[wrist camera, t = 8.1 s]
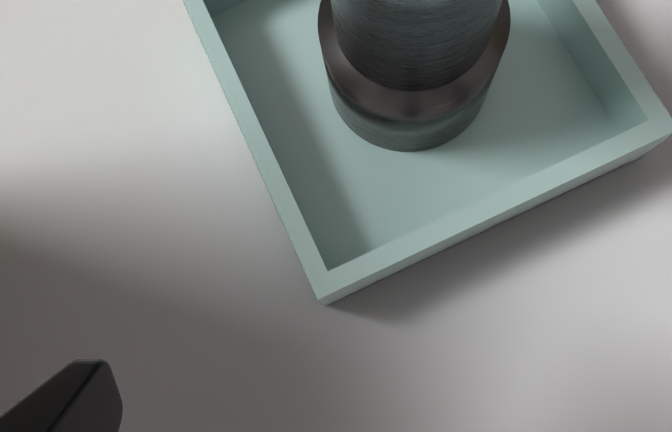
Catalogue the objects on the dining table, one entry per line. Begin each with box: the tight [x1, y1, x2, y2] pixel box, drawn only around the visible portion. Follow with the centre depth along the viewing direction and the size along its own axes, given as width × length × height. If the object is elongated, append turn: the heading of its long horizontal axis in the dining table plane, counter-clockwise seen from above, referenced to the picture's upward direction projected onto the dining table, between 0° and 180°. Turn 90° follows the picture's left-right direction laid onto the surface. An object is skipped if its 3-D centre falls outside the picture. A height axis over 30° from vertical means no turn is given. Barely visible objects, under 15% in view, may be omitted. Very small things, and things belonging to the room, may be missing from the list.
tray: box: [182, 0, 672, 306], centre depth 16 cm, size 10×10×2 cm
